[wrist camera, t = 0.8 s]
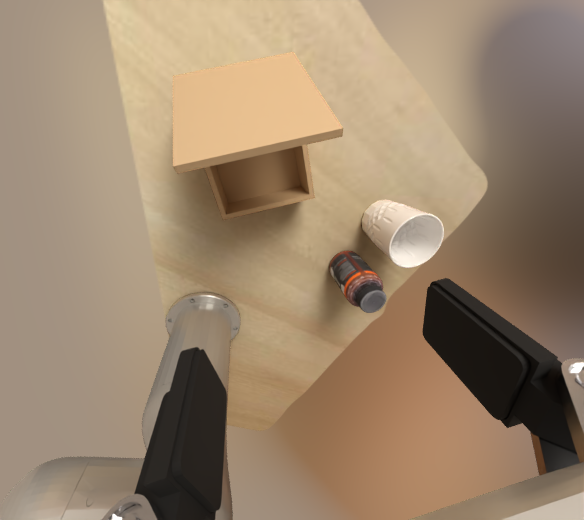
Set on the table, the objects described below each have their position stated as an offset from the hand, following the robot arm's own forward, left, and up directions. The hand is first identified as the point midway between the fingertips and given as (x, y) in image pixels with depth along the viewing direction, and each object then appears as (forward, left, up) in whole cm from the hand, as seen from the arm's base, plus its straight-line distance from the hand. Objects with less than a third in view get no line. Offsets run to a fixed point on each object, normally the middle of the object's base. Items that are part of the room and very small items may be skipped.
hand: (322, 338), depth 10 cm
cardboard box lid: (+10, 0, -17) cm, 20 cm away
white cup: (-9, -18, -30) cm, 36 cm away
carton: (+6, 0, -29) cm, 30 cm away
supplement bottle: (-16, -11, -30) cm, 35 cm away
